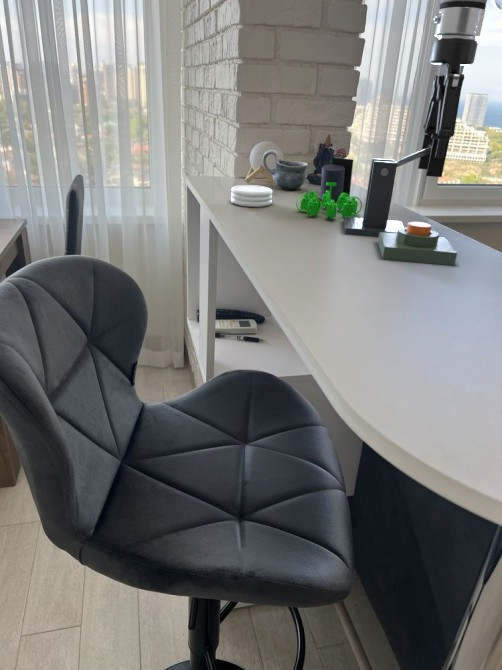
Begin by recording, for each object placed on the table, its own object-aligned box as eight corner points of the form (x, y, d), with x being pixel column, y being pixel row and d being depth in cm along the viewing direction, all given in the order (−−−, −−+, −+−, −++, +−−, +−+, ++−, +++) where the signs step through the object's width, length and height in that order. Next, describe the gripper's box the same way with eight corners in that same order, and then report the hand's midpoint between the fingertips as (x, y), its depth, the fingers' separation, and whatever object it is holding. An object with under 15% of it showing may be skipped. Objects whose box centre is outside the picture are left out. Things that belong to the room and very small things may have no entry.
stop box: (442, 248, 95) (447, 227, 93) (454, 265, 86) (459, 242, 84) (377, 243, 96) (381, 222, 94) (382, 259, 87) (386, 236, 85)
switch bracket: (399, 226, 109) (412, 159, 102) (406, 239, 100) (420, 166, 94) (343, 222, 110) (352, 155, 104) (344, 233, 101) (354, 161, 95)
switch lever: (437, 150, 99) (433, 138, 98) (442, 153, 94) (438, 141, 94) (377, 176, 102) (373, 165, 102) (379, 180, 98) (375, 169, 97)
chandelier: (355, 208, 123) (359, 179, 120) (365, 223, 109) (370, 191, 106) (293, 205, 123) (296, 175, 120) (296, 219, 110) (299, 187, 106)
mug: (308, 192, 139) (312, 154, 134) (263, 190, 138) (265, 152, 133) (302, 186, 147) (305, 149, 143) (259, 184, 146) (261, 147, 142)
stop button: (427, 232, 91) (429, 222, 90) (431, 238, 87) (433, 227, 86) (404, 230, 91) (406, 220, 90) (407, 236, 88) (409, 226, 87)
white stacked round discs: (258, 209, 117) (259, 194, 115) (222, 203, 121) (223, 188, 119) (279, 203, 124) (280, 188, 123) (244, 197, 129) (245, 182, 127)
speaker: (331, 195, 135) (336, 155, 130) (349, 200, 132) (354, 159, 127) (314, 201, 131) (318, 160, 125) (332, 206, 127) (337, 164, 122)
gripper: (423, 43, 98) (402, 163, 108) (446, 32, 79) (418, 180, 89) (463, 45, 98) (438, 166, 108) (496, 34, 78) (462, 183, 88)
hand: (429, 172), depth 98 cm, fingers open, 9 cm apart
